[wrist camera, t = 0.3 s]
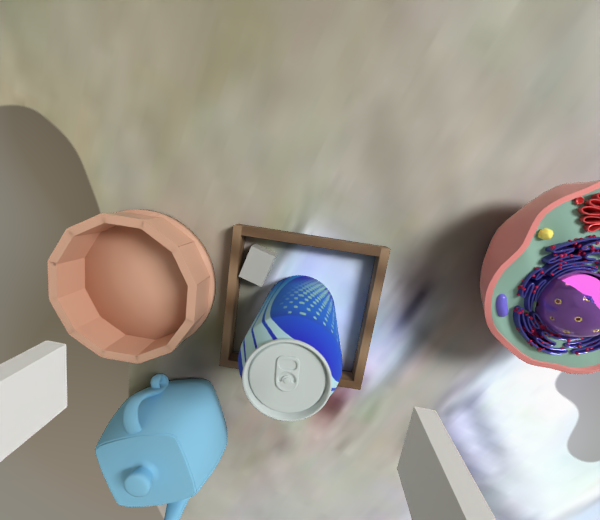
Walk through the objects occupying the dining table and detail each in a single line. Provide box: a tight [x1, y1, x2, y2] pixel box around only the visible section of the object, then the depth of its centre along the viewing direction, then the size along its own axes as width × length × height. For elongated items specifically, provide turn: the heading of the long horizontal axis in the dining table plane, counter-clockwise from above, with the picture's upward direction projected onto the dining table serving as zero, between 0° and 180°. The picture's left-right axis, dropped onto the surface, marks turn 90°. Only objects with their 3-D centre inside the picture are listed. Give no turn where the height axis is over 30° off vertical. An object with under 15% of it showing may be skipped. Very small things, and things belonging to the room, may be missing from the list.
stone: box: [239, 243, 278, 287], centre depth 35 cm, size 4×3×2 cm
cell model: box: [480, 180, 600, 374], centre depth 28 cm, size 17×20×11 cm
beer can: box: [238, 275, 342, 421], centre depth 29 cm, size 8×8×16 cm
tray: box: [219, 224, 390, 390], centre depth 36 cm, size 18×18×2 cm
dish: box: [48, 209, 216, 364], centre depth 35 cm, size 18×18×5 cm
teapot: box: [95, 374, 227, 520], centre depth 35 cm, size 12×18×12 cm
